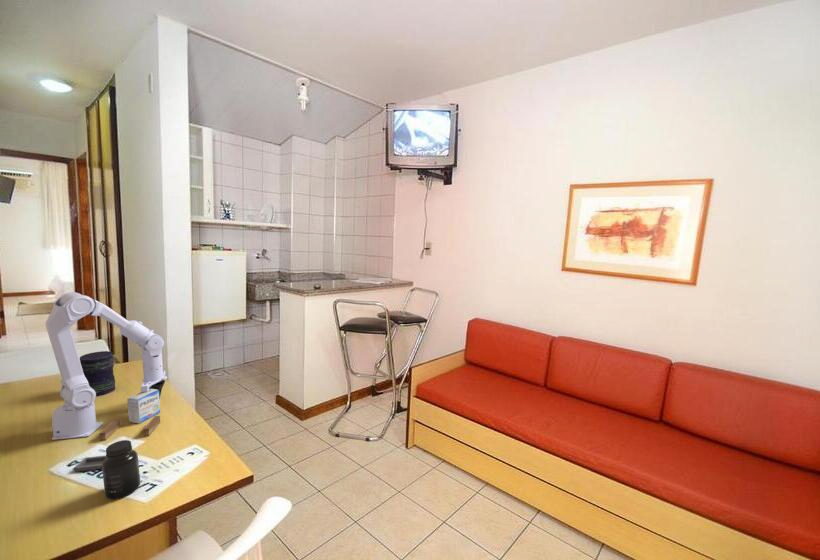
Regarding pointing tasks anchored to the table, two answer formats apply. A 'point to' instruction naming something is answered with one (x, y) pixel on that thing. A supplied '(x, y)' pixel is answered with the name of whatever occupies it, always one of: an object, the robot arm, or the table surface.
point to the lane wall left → (109, 430)
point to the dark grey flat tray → (90, 463)
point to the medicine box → (143, 406)
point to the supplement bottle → (120, 470)
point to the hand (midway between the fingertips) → (155, 401)
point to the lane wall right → (151, 426)
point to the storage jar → (99, 371)
